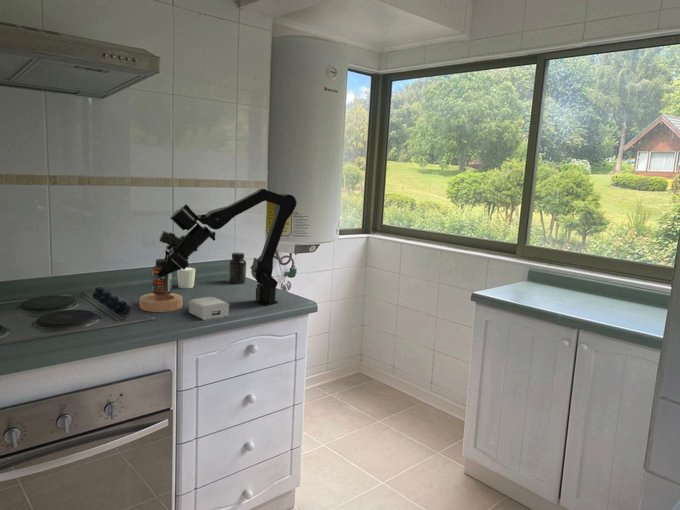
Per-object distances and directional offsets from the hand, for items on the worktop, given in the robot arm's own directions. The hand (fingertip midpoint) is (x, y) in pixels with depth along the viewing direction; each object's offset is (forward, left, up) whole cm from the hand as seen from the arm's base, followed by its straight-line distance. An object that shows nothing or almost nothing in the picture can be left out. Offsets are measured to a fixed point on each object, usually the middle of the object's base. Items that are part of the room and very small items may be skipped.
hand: (157, 274), depth 168 cm
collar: (-1, -1, -11) cm, 11 cm away
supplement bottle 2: (+9, -44, -11) cm, 47 cm away
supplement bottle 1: (-1, -1, -7) cm, 7 cm away
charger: (-15, -7, -11) cm, 20 cm away
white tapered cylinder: (+16, -24, -11) cm, 32 cm away
